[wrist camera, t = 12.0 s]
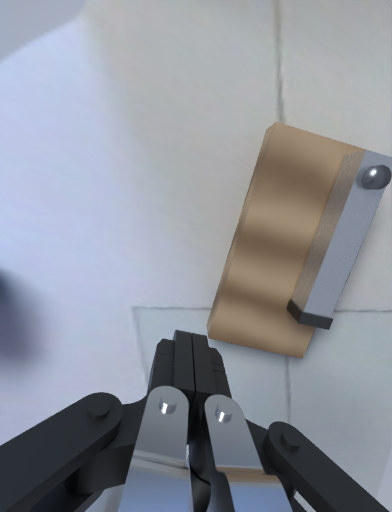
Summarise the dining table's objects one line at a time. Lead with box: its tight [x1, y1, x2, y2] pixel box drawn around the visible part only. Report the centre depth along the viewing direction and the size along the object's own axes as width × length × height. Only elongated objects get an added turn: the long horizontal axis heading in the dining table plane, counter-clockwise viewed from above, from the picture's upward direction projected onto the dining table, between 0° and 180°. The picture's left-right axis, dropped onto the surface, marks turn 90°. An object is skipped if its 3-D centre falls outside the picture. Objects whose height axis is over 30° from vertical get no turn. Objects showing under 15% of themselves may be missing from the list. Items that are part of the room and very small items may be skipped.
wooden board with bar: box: [207, 122, 365, 359], centre depth 28 cm, size 24×12×4 cm, turn 165°
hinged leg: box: [286, 150, 392, 330], centre depth 24 cm, size 17×3×4 cm, turn 166°
